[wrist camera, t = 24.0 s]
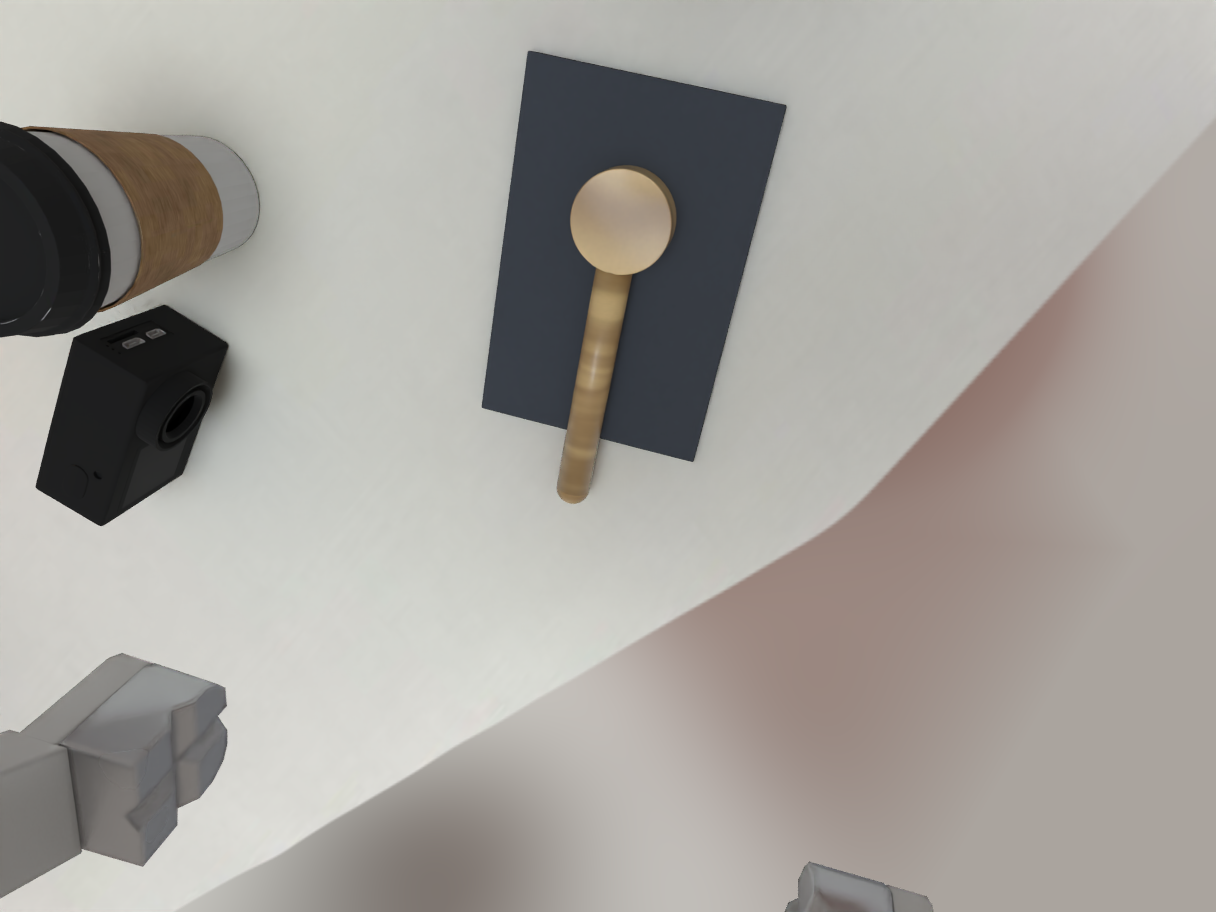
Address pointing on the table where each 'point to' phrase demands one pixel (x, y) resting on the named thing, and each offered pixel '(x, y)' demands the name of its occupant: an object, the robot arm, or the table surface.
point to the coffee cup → (109, 219)
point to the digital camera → (128, 411)
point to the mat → (658, 296)
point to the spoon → (608, 296)
